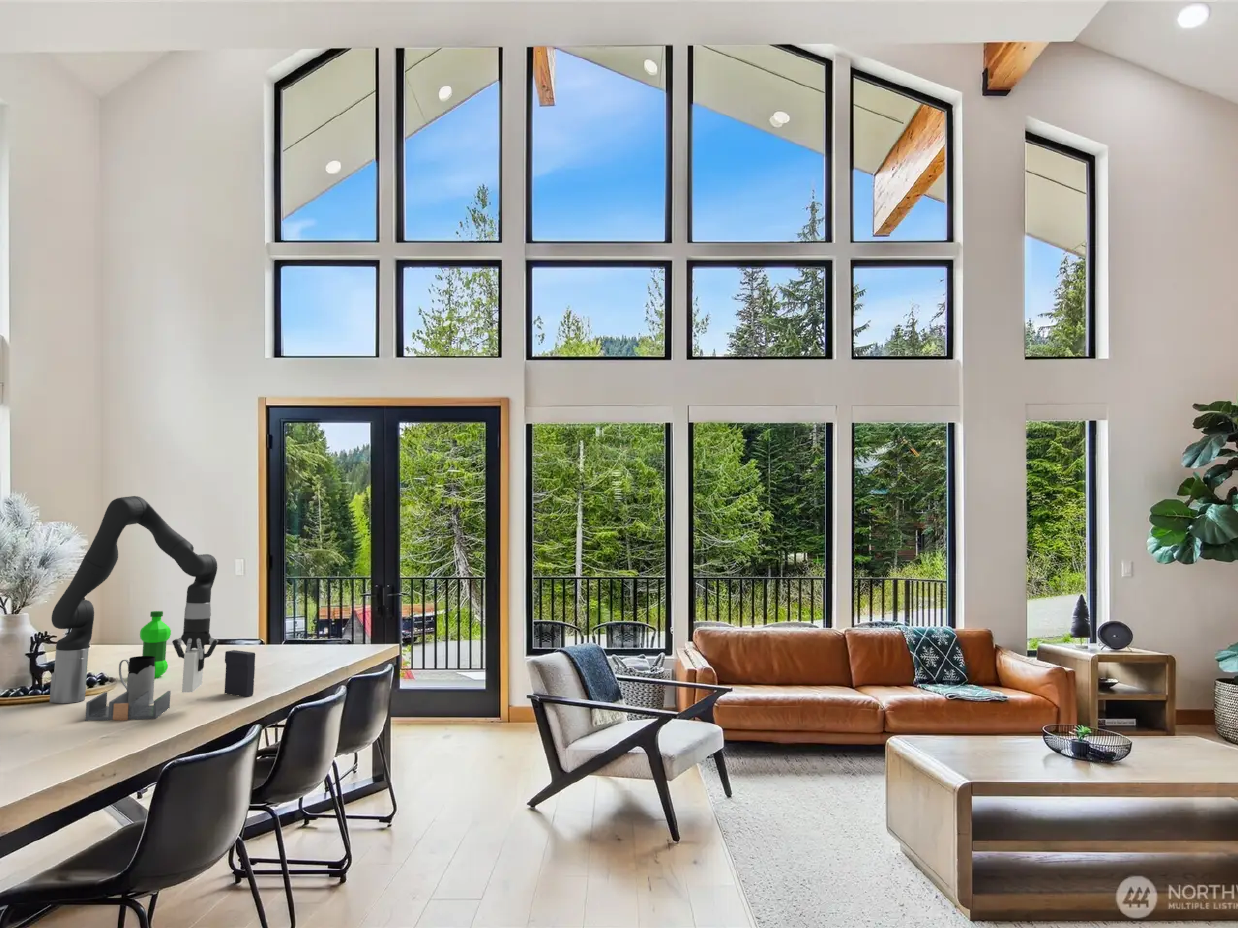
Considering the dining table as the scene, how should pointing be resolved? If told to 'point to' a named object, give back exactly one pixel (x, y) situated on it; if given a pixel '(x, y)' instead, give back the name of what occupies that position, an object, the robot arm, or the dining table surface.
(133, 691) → the tall mug
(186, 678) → the panel
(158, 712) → the rack
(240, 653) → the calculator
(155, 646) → the plastic bottle
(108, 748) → the dining table surface
